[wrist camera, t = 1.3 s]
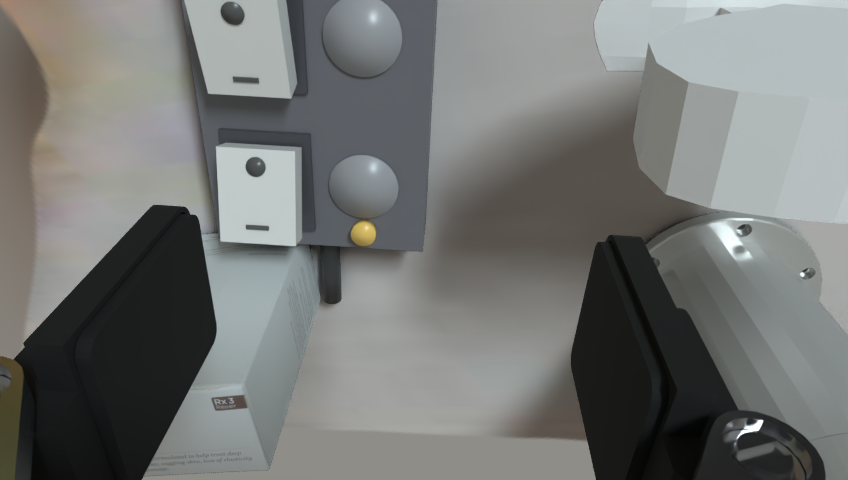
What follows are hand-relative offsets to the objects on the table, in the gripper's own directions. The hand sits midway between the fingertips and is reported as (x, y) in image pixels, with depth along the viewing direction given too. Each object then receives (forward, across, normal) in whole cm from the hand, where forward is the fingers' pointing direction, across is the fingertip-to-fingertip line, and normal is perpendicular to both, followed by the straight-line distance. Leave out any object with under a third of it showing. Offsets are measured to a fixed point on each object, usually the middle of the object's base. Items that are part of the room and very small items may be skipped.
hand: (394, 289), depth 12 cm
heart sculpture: (+24, -15, -1) cm, 28 cm away
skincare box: (+24, +11, +16) cm, 31 cm away
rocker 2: (+19, +9, +8) cm, 22 cm away
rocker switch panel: (+24, +6, +3) cm, 25 cm away
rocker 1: (+19, +9, 0) cm, 21 cm away
